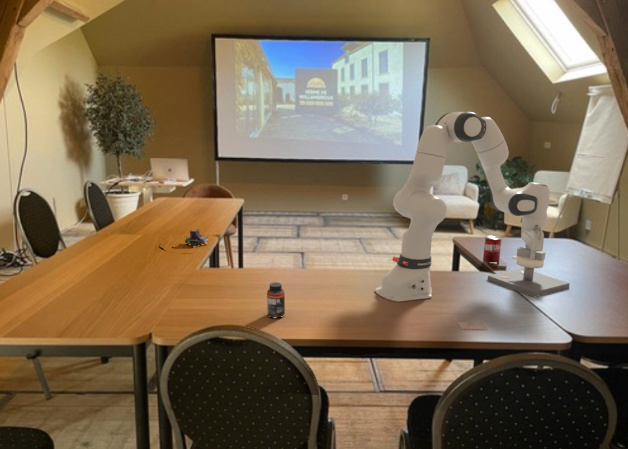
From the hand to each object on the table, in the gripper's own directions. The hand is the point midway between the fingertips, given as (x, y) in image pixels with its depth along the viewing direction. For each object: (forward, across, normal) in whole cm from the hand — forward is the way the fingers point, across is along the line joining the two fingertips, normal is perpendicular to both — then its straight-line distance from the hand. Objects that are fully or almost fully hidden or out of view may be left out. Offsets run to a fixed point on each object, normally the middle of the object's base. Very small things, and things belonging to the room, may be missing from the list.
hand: (529, 256), depth 195 cm
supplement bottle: (+12, -53, +92) cm, 107 cm away
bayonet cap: (+4, 0, 0) cm, 4 cm away
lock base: (+12, 0, 0) cm, 12 cm away
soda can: (+12, +28, +9) cm, 32 cm away
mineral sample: (+14, +27, +157) cm, 160 cm away
